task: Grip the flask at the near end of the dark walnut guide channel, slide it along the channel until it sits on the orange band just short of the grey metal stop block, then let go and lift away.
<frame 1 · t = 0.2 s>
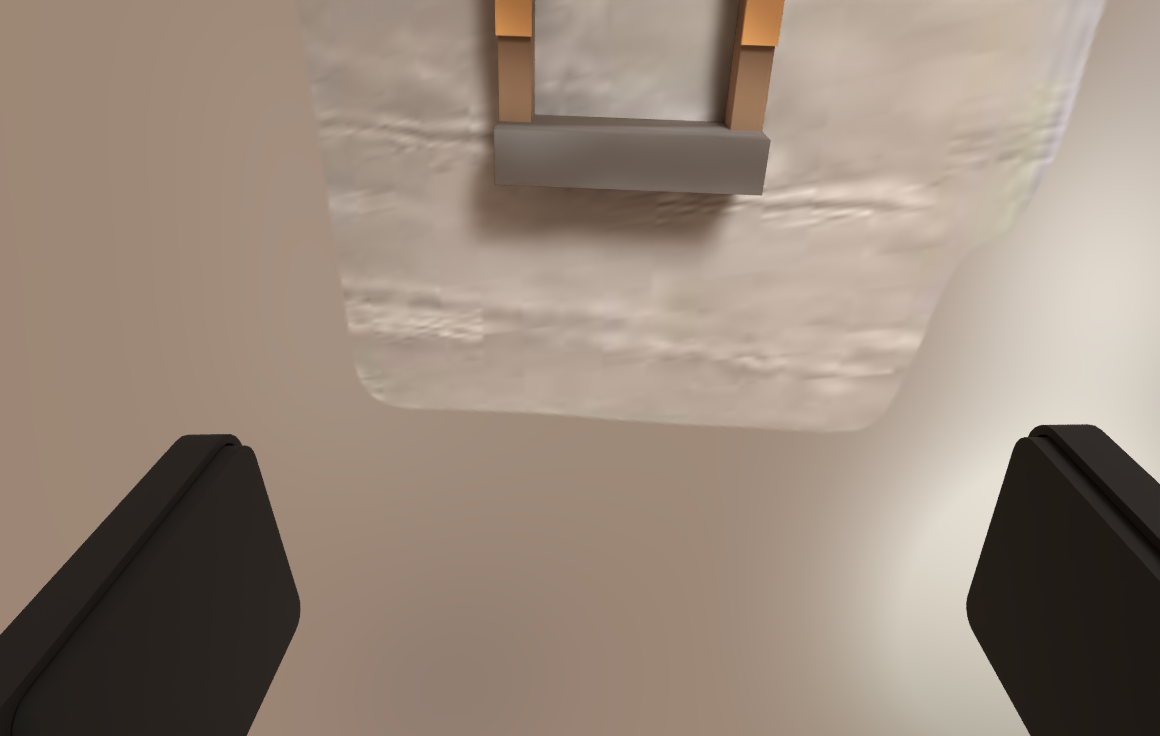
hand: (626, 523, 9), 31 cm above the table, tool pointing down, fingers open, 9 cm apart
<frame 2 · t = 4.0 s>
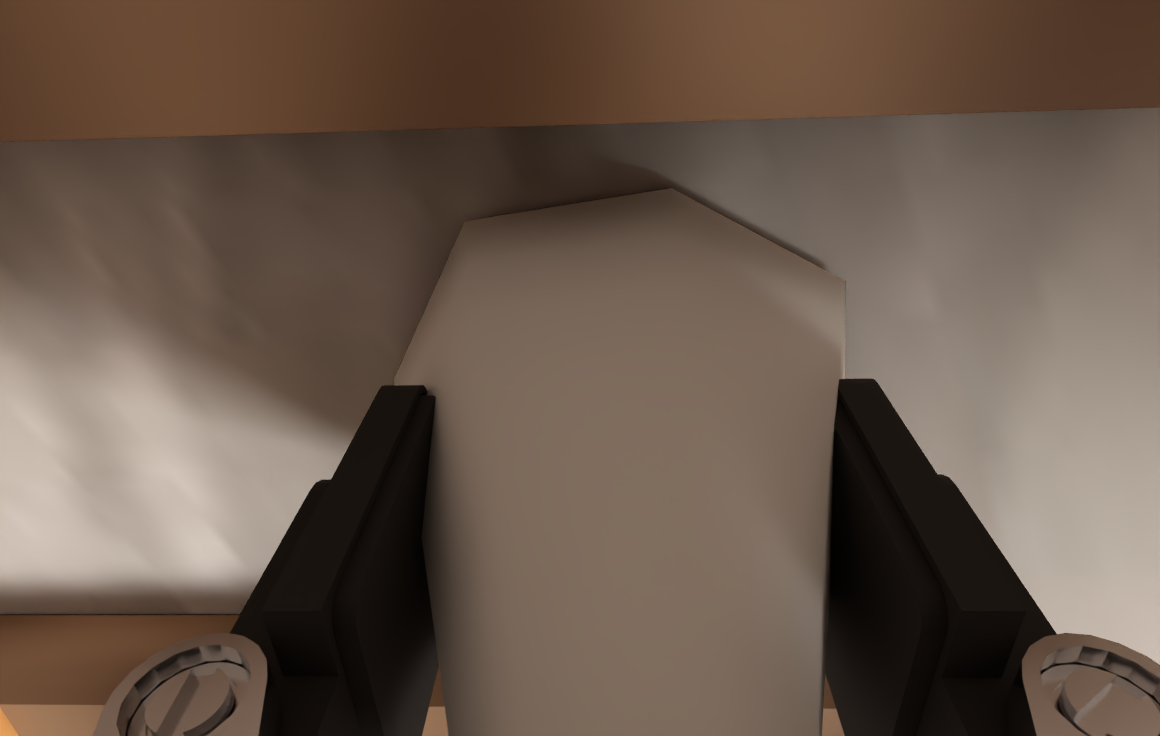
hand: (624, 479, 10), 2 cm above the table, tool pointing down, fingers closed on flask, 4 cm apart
flask: (622, 397, 12), resting in guide channel, touching gripper
guide channel: (169, 411, 12), on the table
when the fingers open (2 cm above the table, at t = 8.4 s): flask stays where it is, resting in guide channel.
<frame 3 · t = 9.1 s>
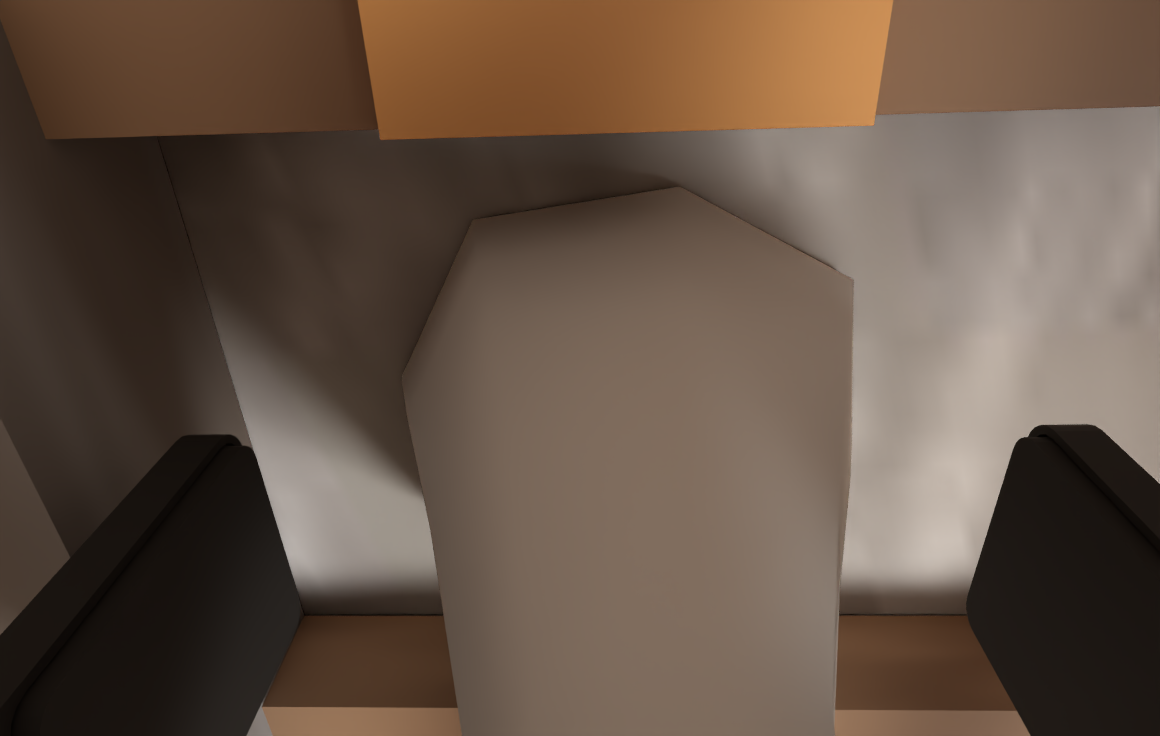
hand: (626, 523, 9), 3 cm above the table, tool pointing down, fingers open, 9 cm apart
flask: (628, 395, 12), resting in guide channel
guide channel: (1004, 401, 11), on the table
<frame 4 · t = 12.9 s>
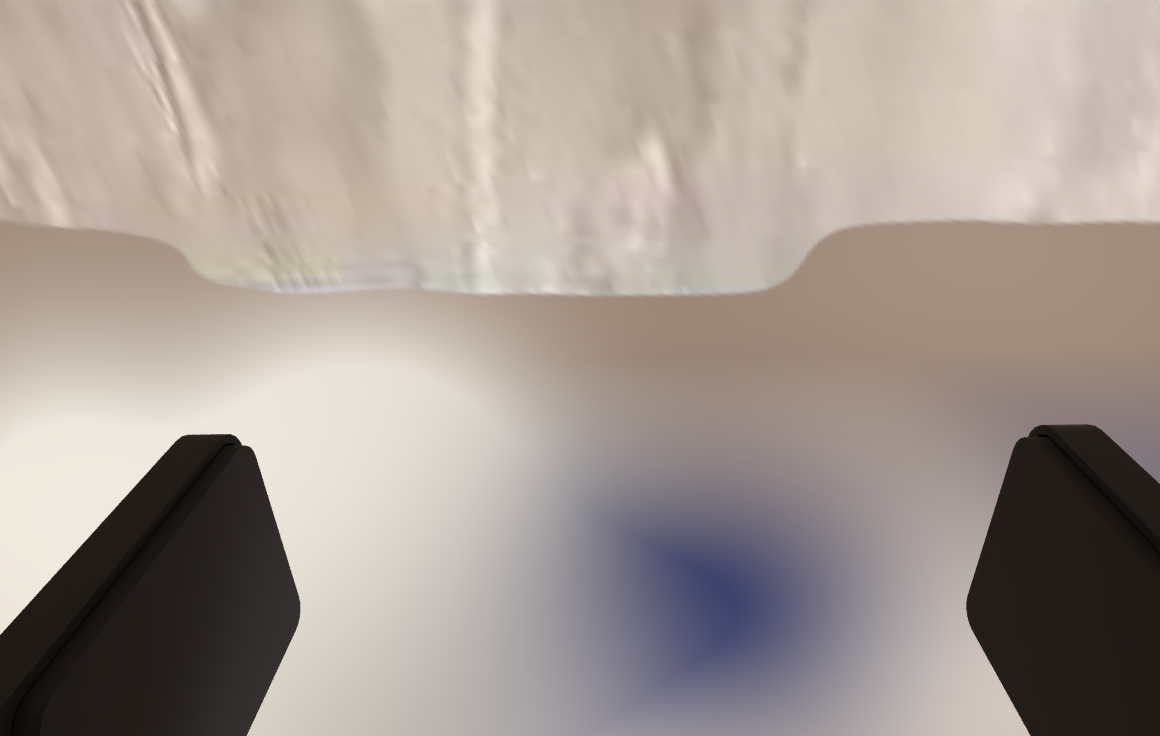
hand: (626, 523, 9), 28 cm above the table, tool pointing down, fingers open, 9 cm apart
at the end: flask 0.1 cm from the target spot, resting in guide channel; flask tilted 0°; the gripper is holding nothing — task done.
